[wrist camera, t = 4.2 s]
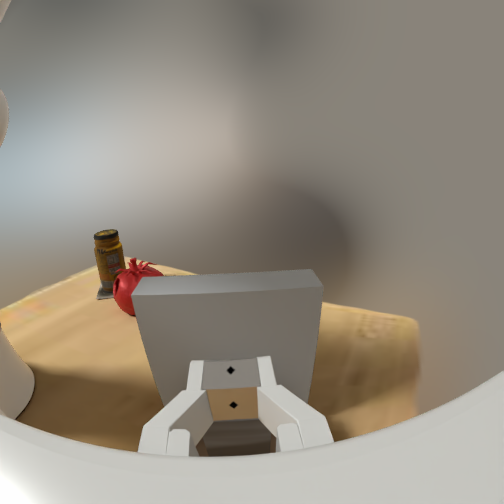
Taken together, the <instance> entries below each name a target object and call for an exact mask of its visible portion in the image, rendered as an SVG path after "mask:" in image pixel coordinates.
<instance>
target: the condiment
mask: <svg viewBox="0 0 504 504" xmlns="http://www.w3.org/2000/svg"><path fill="white" fill-rule="evenodd" d="M94 240H95V245H96V247H95V249H94V251H95V256H96V261H97V267H98V271H99V275H100V280H101V285H100V288H99V291H98V295H97V298H96V299H103V298H112V297H114V296H113V295H114V294H113V285H114V282H115V280H116V278H117V276H118V275H119V274H121V273H122V272H124V271H118V272H117V273H116V271H117V270H118V269H126V266H125V261H124V256H123V249H122V244H121V243H120V242H119V236H118V231H117V230H114V229H110V230H104V231H100V232H97V233H96V234H95V235H94Z"/></svg>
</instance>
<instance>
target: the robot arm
mask: <svg viewBox="0 0 504 504" xmlns="http://www.w3.org/2000/svg"><path fill="white" fill-rule="evenodd" d="M10 2H11V0H0V23H1V21H2V18H3V16H4V14H5V12H6V10H7V8H8V6H9V4H10ZM8 121H9V109H8V103H7V100H6V97H5V95H4V93H3V92H2V90H1V89H0V147H1V145H2V143H3V140H4V138H5V135H6V131H7V128H8ZM33 390H34V375H33V372H32V370H31V369H30V367H29V366H28V365H27V364H26V363H25V362H24V361H23V360H22V359H21V358H20V356H19V355H18V354H17V352H16V351H15V350H14V348H13V347H12V345H11V344H10V342H9V340H8V339H7V337H6V335H5V334H4V332H3V330H2V328H1V323H0V504H504V371H502V372H500V373H499V374H497V375H496V376H494V377H492V378H491V379H489V380H488V381H486V382H484V383H483V384H481V385H480V386H478V387H476V388H474V389H473V390H470V391H469V392H467V393H465V394H463V395H461V396H459V397H457V398H455V399H453V400H451V401H450V402H447V403H445V404H443V405H441V406H439V407H437V408H435V409H432V410H430V411H428V412H425V413H423V414H421V415H418V416H416V417H413V418H411V419H408V420H406V421H403V422H400V423H397V424H395V425H392V426H389V427H386V428H383V429H380V430H377V431H374V432H370V433H367V434H364V435H360V436H357V437H353V438H349V439H345V440H341V441H337V442H334V440H333V437H332V434H331V432H330V429H329V426H328V423H327V420H326V418H325V416H324V415H322V414H321V413H319V412H318V411H316V410H315V409H314V408H312V407H311V406H309V405H308V404H307V403H305V402H304V401H302V400H301V399H300V398H298V397H297V396H296V395H294V394H293V393H292V392H290V391H289V390H287V389H286V388H285V387H284V386H282V385H277V382H276V378H275V373H274V369H273V364H272V360H271V357H270V356H263V357H257V358H256V357H255V358H244V359H230V360H205V361H204V360H192V361H191V362H190V368H189V375H188V382H187V389H186V390H182V391H181V392H180V393H179V394H178V395H177V396H176V397H175V398H174V399H173V400H172V401H171V402H169V403H168V404H167V405H166V406H165V407H164V408H163V409H162V410H161V411H160V412H158V413H157V414H156V415H155V416H154V417H153V418H152V419H151V420H150V421H148V422H147V423H146V424H145V425H144V426H143V430H142V434H141V438H140V443H139V447H138V452H132V451H125V450H119V449H113V448H107V447H102V446H97V445H93V444H88V443H84V442H80V441H76V440H72V439H69V438H65V437H61V436H58V435H55V434H52V433H48V432H45V431H42V430H39V429H37V428H34V427H31V426H28V425H26V424H23V423H21V422H18V421H16V420H15V418H16V417H17V416H18V415H19V414H20V413H21V412H22V411H23V409H24V408H25V407H26V405H27V404H28V402H29V400H30V398H31V396H32V393H33ZM253 418H259V420H260V421H261V422H262V423H263V424H264V425H265V426H266V428H267V429H268V430H269V431H270V432H271V433H272V434H273V435H274V436H275V437H276V453H268V454H257V455H245V456H224V457H200V456H199V454H198V452H197V449H196V447H195V446H196V445H197V444H198V442H199V441H200V440H201V438H202V437H203V436H204V434H205V433H206V432H207V430H208V429H209V427H210V426H211V425H212V423H213V421H218V420H233V419H253Z"/></svg>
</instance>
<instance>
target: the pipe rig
mask: <svg viewBox="0 0 504 504" xmlns="http://www.w3.org/2000/svg"><path fill="white" fill-rule="evenodd" d="M195 447H196V449H197V452H198V454H199V456H200V457H224V456H245V455H257V454H268V453H276V437H275V436H274V435H273V434H272V433H271V432H270V431H269V430H268V429H267V428H266V426H265V425H264V424H263V423H262V422H261V421H260V420H259V418H253V419H233V420H218V421H213V423H212V425H211V426H210V427H209V429H208V430H207V432H206V433H205V434H204V436H203V437H202V438H201V440H200V441H199V442H198V444H197V445H196V446H195Z"/></svg>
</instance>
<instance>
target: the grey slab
mask: <svg viewBox="0 0 504 504" xmlns="http://www.w3.org/2000/svg"><path fill="white" fill-rule="evenodd" d="M322 297H323V285H322V283H321V282H320V280H319V279H318V278H317V276H316V275H315V273H314V272H313V270H312V269H305V270H288V271H271V272H252V273H233V274H212V275H211V274H210V275H186V276H158V277H142V279H141V280H140V282H139V283H138V285H137V286H136V288H135V289H134V291H133V293H132V294H131V298H132V302H133V306H134V311H135V315H136V319H137V323H138V326H139V330H140V334H141V337H142V341H143V345H144V348H145V351H146V355H147V358H148V361H149V364H150V368H151V371H152V374H153V377H154V380H155V383H156V386H157V389H158V391H159V394H160V397H161V400H162V402H163V405H164V407H165V406H166V405H167V404H168V403H169V402H171V401H172V400H173V399H174V398H175V397H176V396H177V395H178V394H179V393H180V392H181V391H182V390H186V389H187V382H188V375H189V368H190V362H191V361H192V360H204V361H205V360H230V359H244V358H255V357H256V358H257V357H263V356H270V357H271V360H272V364H273V369H274V373H275V378H276V382H277V385H282V386H284V387H285V388H286V389H287V390H289V391H290V392H292V393H293V394H294V395H296V396H297V397H298V398H300V399H301V400H302V401H304V402H305V403H308V398H309V392H310V386H311V381H312V374H313V368H314V361H315V355H316V347H317V340H318V332H319V324H320V316H321V307H322Z"/></svg>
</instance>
